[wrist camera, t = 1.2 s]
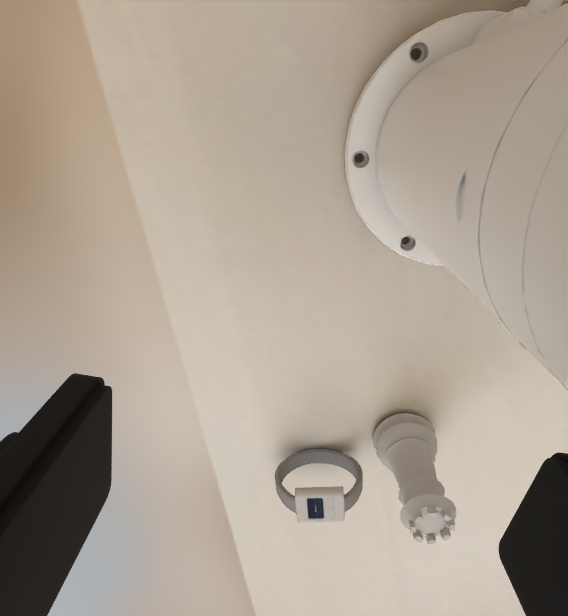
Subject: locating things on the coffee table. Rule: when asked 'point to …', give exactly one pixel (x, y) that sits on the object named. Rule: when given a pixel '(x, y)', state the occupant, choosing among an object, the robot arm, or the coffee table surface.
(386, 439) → the rook chess piece
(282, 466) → the wristwatch
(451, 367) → the coffee table surface
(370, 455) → the coffee table surface
